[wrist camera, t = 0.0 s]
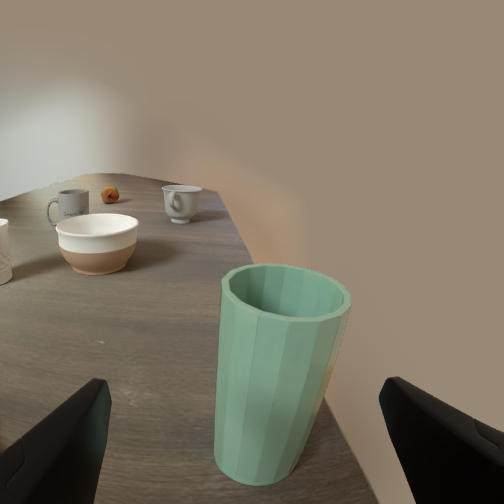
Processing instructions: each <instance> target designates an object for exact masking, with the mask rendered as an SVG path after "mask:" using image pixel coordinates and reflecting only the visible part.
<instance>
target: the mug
mask: <svg viewBox="0 0 504 504" xmlns="http://www.w3.org/2000/svg"><path fill="white" fill-rule="evenodd" d="M52 202H57V203H58V204H59V221H58V222H52V221H51V220H50V218H49V207H50V204H51V203H52ZM81 215H89V191H88V190H85V189H73V190H65V191H61V192H59V193H58V198H54V199H51V200H50V201H49V202H48V204H47V207H46V217H47V220H48V222H49V223H50V225H52V226H57V224H58V223H60V222H61V221H63V220H65V219H69V218H72V217H76V216H81Z"/></svg>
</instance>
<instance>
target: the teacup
mask: <svg viewBox="0 0 504 504" xmlns="http://www.w3.org/2000/svg"><path fill="white" fill-rule="evenodd" d="M162 190H163V192H164V199H165V210H166V213H167V215H168V216H170V217H171V222H173V223H177V224H186V223H189V222H190V218H191V217H193V216H194V215H195V213H196V211H197V206H198V201H199V196H200V193H201V191H202V190H203V189H202V188H200V187H195V186H185V185H170V186H163V187H162Z"/></svg>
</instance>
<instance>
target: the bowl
mask: <svg viewBox="0 0 504 504" xmlns="http://www.w3.org/2000/svg"><path fill="white" fill-rule="evenodd" d="M138 225H139V222H138V220H137V219H135V218H133V217H130V216H126V215H120V214H89V215H81V216H76V217H72V218H69V219H65V220H63V221H61V222H60V223H58V224H57V226H56V230H57V232H58V235H59V246H60V250H61V253H62V255H63V256H64V258H65V259H66V261H67V262H69V263H70V264H71V265H72V266H73V269H74V270H75V271H76V272H78V273H81V274H86V275H104V274H109V273H113V272H116V271H118V270H120V269H122V268H123V267H124V266H125V265H126V261H127V260H128V259H129V258H130V257H131V256H132V254H133V252H134V250H135V248H136V242H137V232H136V231H137V227H138Z"/></svg>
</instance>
